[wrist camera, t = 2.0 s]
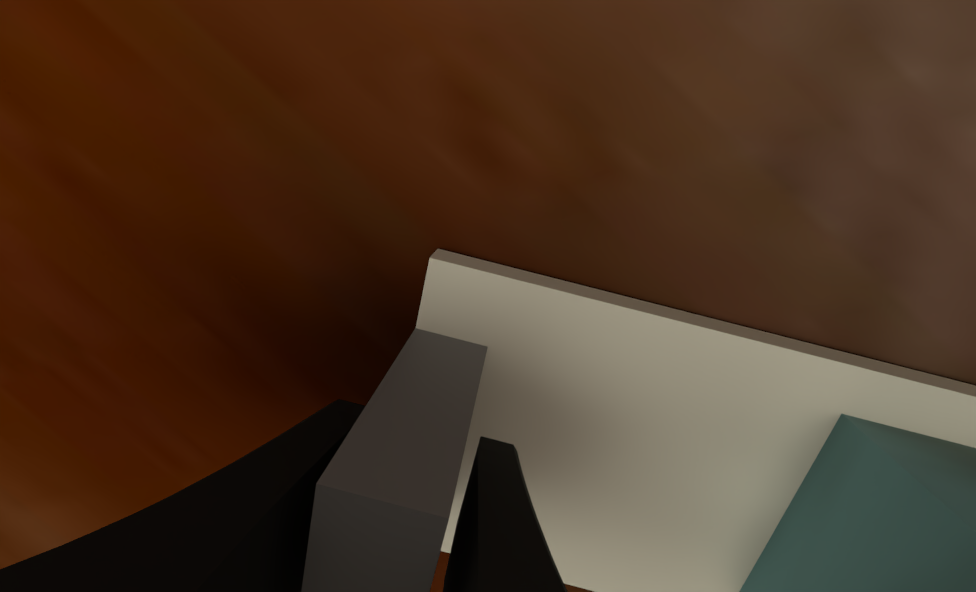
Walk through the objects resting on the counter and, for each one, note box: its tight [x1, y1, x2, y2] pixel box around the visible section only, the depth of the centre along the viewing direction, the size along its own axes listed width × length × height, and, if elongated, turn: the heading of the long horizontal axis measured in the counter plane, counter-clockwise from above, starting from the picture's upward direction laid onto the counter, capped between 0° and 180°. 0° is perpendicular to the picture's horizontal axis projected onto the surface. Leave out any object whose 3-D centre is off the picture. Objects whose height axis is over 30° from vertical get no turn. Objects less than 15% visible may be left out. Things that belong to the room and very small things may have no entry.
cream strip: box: [301, 249, 976, 592], centre depth 8 cm, size 14×7×5 cm, turn 77°
